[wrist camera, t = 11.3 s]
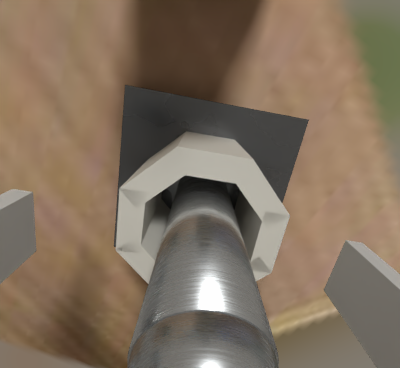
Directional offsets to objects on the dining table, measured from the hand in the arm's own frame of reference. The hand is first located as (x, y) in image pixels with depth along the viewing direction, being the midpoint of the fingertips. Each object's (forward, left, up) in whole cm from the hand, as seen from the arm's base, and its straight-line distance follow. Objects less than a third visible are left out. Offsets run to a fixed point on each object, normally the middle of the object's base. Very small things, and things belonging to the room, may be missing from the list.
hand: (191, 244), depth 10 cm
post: (0, 0, -8) cm, 8 cm away
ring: (0, 0, -7) cm, 7 cm away
